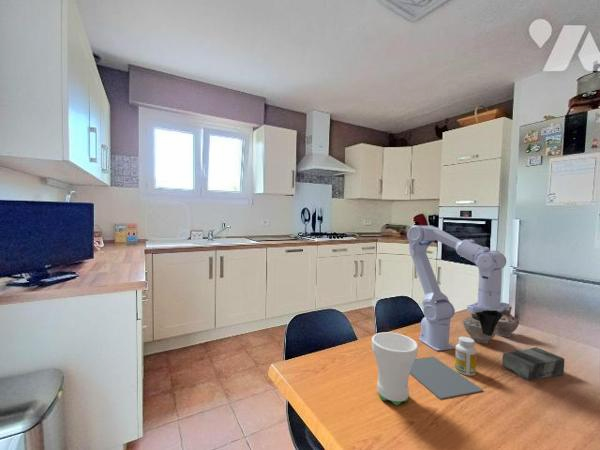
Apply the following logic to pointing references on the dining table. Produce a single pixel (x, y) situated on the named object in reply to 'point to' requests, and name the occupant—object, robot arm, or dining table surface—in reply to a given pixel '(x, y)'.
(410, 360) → the cup
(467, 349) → the supplement bottle
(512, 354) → the stone block
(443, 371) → the mat
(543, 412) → the dining table surface
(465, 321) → the pottery
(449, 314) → the robot arm
